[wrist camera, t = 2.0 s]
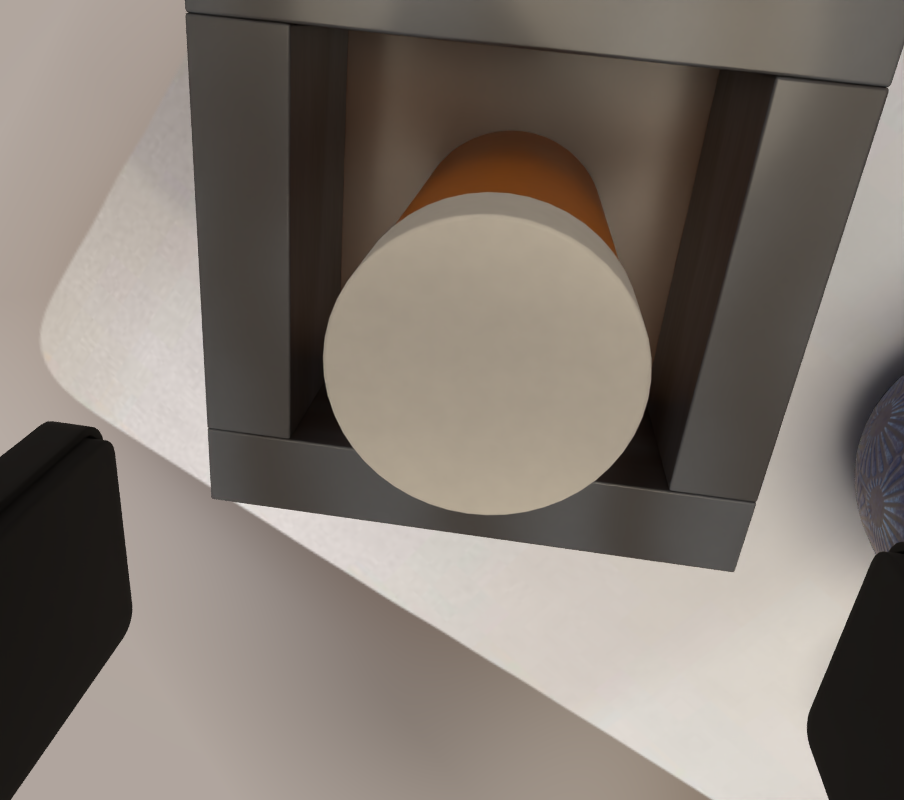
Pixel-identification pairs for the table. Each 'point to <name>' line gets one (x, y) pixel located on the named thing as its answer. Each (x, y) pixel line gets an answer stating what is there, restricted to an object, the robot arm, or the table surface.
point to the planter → (882, 471)
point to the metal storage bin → (621, 194)
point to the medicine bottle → (491, 335)
